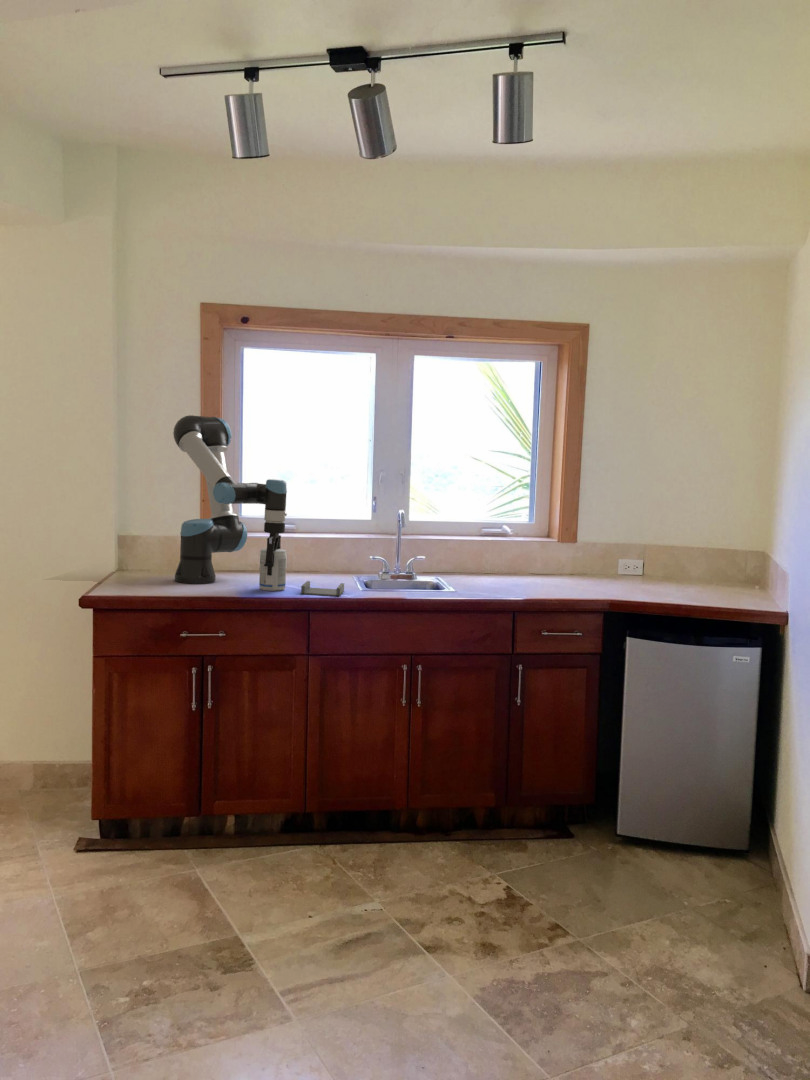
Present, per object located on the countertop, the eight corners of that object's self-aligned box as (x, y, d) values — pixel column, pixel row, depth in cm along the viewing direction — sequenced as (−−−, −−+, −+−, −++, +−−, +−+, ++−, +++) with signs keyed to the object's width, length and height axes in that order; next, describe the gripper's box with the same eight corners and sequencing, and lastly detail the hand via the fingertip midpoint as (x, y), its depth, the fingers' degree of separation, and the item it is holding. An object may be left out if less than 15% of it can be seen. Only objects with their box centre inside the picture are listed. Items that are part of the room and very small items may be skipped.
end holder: (301, 594, 324) (301, 585, 324) (306, 588, 337) (307, 581, 337) (339, 596, 324) (340, 588, 323) (343, 591, 337) (344, 583, 336)
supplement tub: (280, 587, 338) (282, 548, 337) (288, 591, 330) (290, 551, 328) (255, 587, 334) (257, 548, 333) (263, 591, 325) (264, 551, 324)
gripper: (279, 524, 318) (276, 587, 320) (290, 520, 340) (287, 578, 343) (258, 523, 319) (255, 585, 321) (270, 519, 341) (268, 577, 343)
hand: (272, 582), depth 332 cm, fingers closed on supplement tub, 9 cm apart
